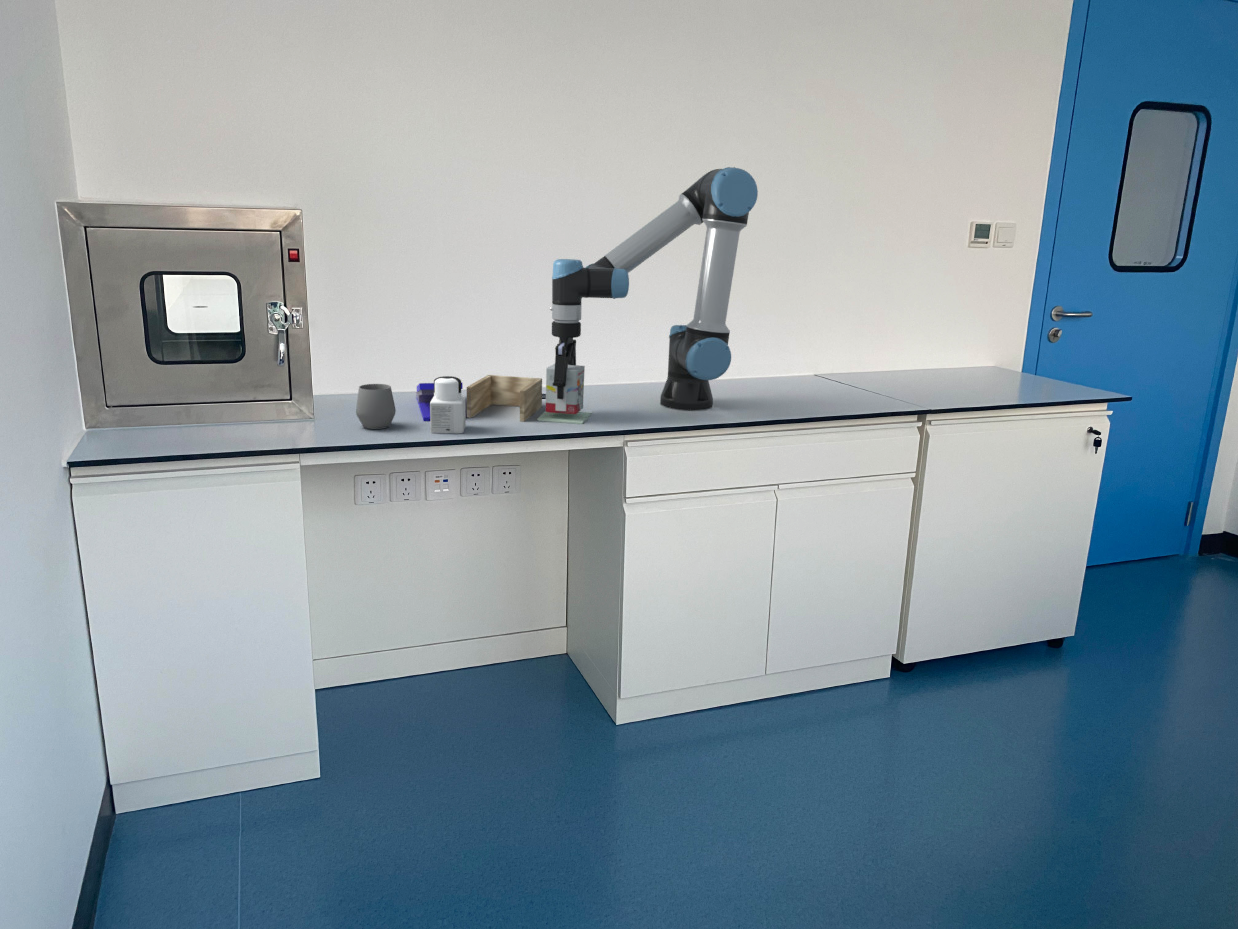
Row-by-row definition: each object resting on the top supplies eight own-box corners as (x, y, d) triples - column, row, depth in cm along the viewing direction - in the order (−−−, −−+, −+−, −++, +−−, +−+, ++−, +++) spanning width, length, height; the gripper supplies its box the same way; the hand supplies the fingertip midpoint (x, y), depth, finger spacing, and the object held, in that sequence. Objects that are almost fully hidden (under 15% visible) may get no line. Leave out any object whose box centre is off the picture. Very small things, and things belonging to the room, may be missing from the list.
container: (434, 425, 219) (433, 374, 215) (465, 426, 219) (464, 374, 216) (430, 433, 211) (429, 380, 208) (462, 433, 212) (462, 380, 208)
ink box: (576, 414, 227) (577, 369, 224) (544, 412, 229) (545, 367, 225) (584, 408, 235) (585, 364, 232) (553, 405, 237) (554, 362, 233)
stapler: (421, 422, 223) (420, 384, 220) (414, 399, 248) (413, 365, 246) (466, 421, 226) (466, 383, 223) (455, 398, 252) (454, 364, 249)
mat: (591, 414, 237) (591, 412, 237) (581, 424, 226) (582, 422, 226) (547, 410, 239) (547, 409, 239) (536, 420, 228) (536, 419, 228)
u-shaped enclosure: (541, 406, 243) (542, 378, 241) (524, 421, 226) (524, 391, 224) (488, 403, 246) (488, 374, 243) (466, 417, 228) (466, 387, 226)
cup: (359, 432, 210) (357, 391, 207) (354, 423, 218) (352, 383, 215) (399, 430, 213) (398, 389, 211) (392, 421, 222) (391, 382, 219)
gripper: (561, 315, 236) (560, 397, 242) (541, 325, 216) (540, 414, 222) (589, 316, 235) (586, 399, 241) (571, 326, 215) (569, 416, 221)
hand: (564, 406), depth 232 cm, fingers closed on ink box, 9 cm apart
